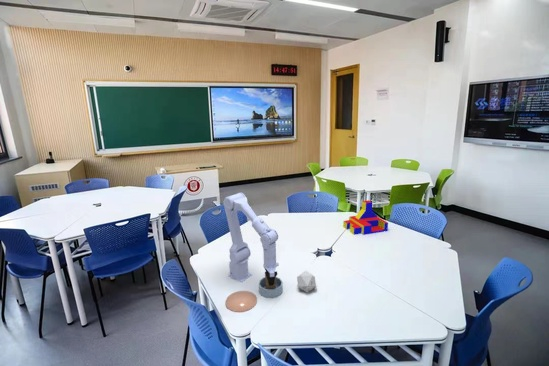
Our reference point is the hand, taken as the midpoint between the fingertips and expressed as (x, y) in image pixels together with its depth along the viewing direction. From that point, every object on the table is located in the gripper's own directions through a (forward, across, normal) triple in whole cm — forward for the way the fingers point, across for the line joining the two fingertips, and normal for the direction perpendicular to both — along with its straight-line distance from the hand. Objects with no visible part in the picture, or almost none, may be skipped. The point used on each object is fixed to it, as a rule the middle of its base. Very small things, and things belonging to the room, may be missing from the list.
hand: (270, 281), depth 134 cm
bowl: (+5, 0, 0) cm, 5 cm away
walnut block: (+3, 0, 0) cm, 3 cm away
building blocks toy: (+5, +60, -75) cm, 96 cm away
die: (+5, -2, -17) cm, 18 cm away
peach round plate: (+5, -6, +14) cm, 16 cm away
